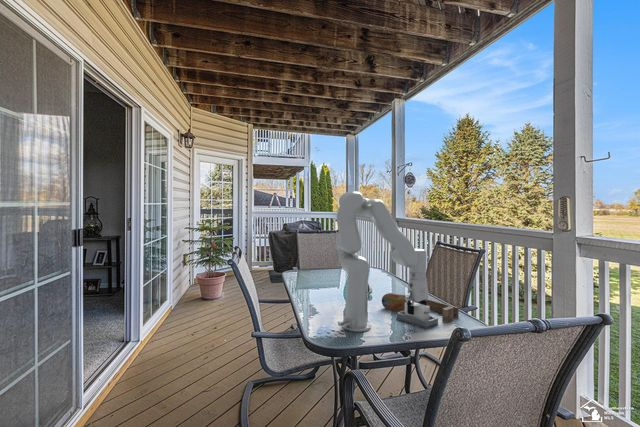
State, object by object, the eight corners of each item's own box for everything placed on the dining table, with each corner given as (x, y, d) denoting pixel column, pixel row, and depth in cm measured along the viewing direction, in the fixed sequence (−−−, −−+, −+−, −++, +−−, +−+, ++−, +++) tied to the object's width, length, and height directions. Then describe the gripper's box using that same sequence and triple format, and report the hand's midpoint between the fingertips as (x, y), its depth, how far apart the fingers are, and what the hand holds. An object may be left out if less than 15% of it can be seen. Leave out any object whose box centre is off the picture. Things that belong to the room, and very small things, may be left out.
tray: (425, 329, 136) (425, 322, 136) (396, 319, 148) (396, 312, 148) (437, 324, 142) (438, 318, 142) (408, 314, 154) (408, 308, 154)
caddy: (425, 324, 139) (425, 309, 139) (404, 317, 147) (404, 303, 147) (431, 322, 142) (432, 307, 142) (410, 315, 151) (411, 301, 150)
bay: (446, 322, 144) (446, 309, 144) (413, 312, 158) (413, 300, 158) (458, 317, 151) (458, 305, 151) (425, 308, 165) (425, 296, 165)
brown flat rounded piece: (381, 308, 164) (381, 292, 164) (383, 306, 167) (383, 291, 167) (410, 313, 157) (410, 296, 157) (411, 311, 160) (412, 295, 160)
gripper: (413, 279, 136) (412, 318, 137) (435, 274, 147) (434, 310, 147) (399, 276, 142) (398, 313, 143) (421, 271, 153) (420, 306, 153)
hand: (416, 311), depth 145 cm, fingers open, 9 cm apart
